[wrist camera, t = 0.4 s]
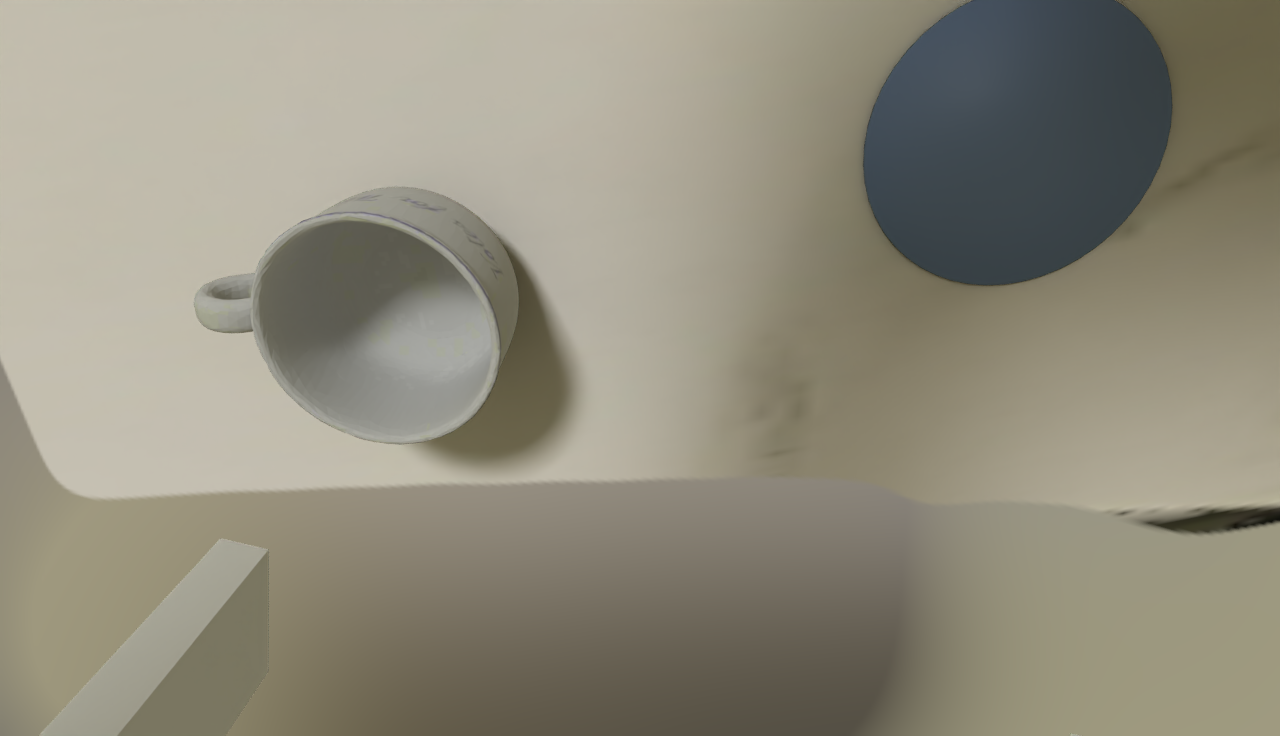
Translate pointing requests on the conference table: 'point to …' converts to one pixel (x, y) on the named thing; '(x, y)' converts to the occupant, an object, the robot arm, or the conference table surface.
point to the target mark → (1017, 137)
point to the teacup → (379, 313)
